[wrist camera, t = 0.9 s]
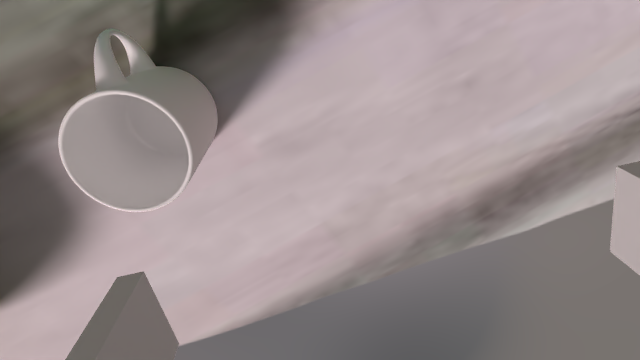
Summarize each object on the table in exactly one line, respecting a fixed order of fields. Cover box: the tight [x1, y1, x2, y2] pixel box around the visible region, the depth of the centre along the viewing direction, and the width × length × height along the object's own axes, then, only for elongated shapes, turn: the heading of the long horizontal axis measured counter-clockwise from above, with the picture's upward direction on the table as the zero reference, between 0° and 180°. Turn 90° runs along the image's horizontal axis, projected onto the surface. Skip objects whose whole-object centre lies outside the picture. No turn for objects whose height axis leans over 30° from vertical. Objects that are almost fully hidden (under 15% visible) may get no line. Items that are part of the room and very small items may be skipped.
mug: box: [58, 29, 218, 212], centre depth 32 cm, size 9×12×11 cm
